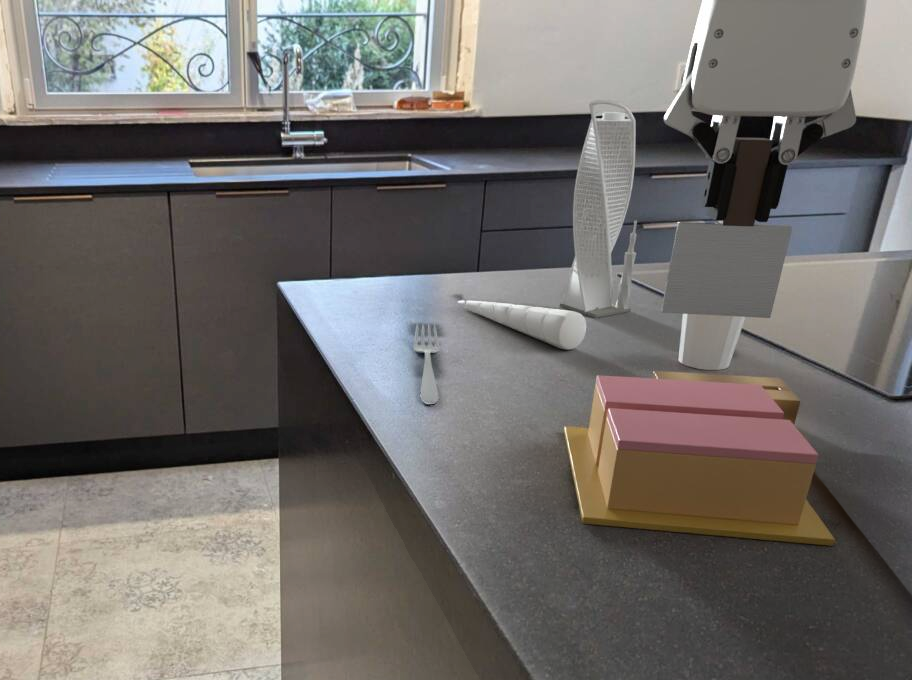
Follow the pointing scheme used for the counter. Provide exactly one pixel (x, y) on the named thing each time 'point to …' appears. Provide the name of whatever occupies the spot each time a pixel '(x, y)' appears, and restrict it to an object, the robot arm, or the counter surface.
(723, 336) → the shot glass
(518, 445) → the counter surface
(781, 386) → the knife stand
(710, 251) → the knife
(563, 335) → the unicorn horn
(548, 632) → the counter surface
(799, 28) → the robot arm
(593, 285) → the skyscraper
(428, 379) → the fork
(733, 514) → the cake
